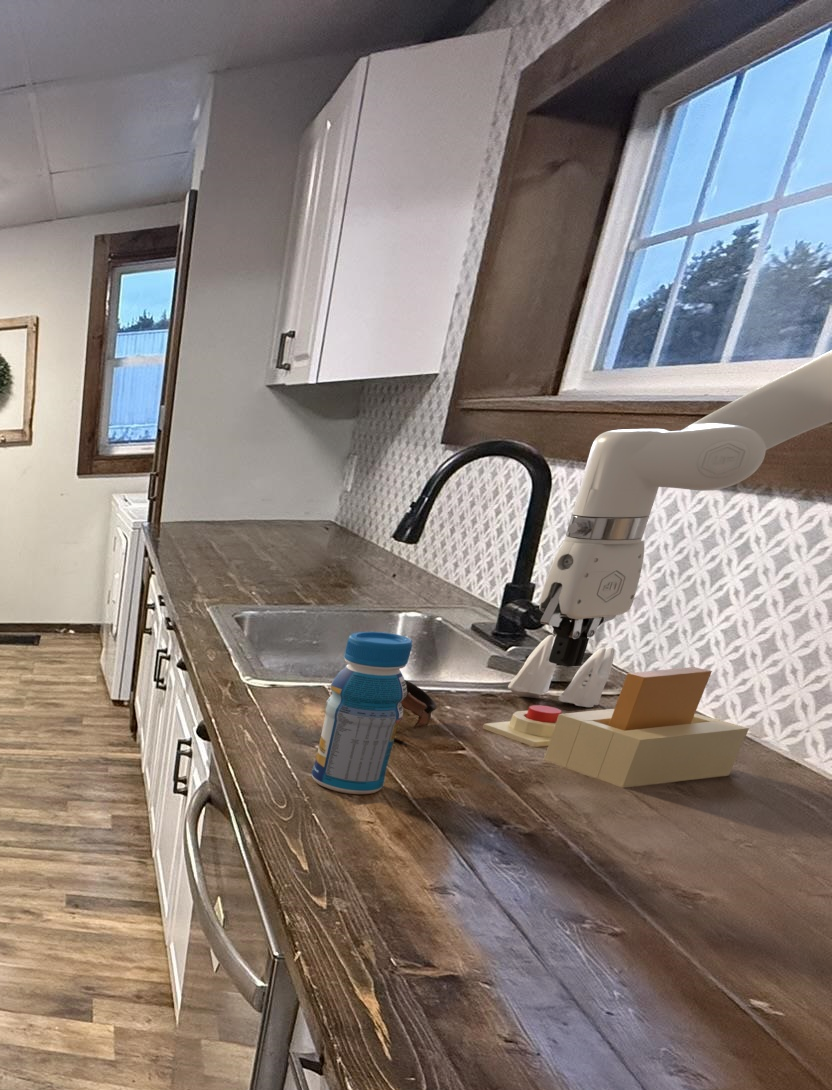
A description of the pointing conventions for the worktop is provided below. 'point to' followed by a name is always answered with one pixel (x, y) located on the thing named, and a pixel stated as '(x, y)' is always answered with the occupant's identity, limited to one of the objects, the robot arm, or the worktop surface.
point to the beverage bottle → (363, 714)
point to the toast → (659, 698)
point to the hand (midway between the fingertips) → (564, 663)
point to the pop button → (543, 713)
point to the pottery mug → (418, 704)
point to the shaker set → (581, 688)
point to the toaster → (644, 749)
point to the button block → (523, 729)
